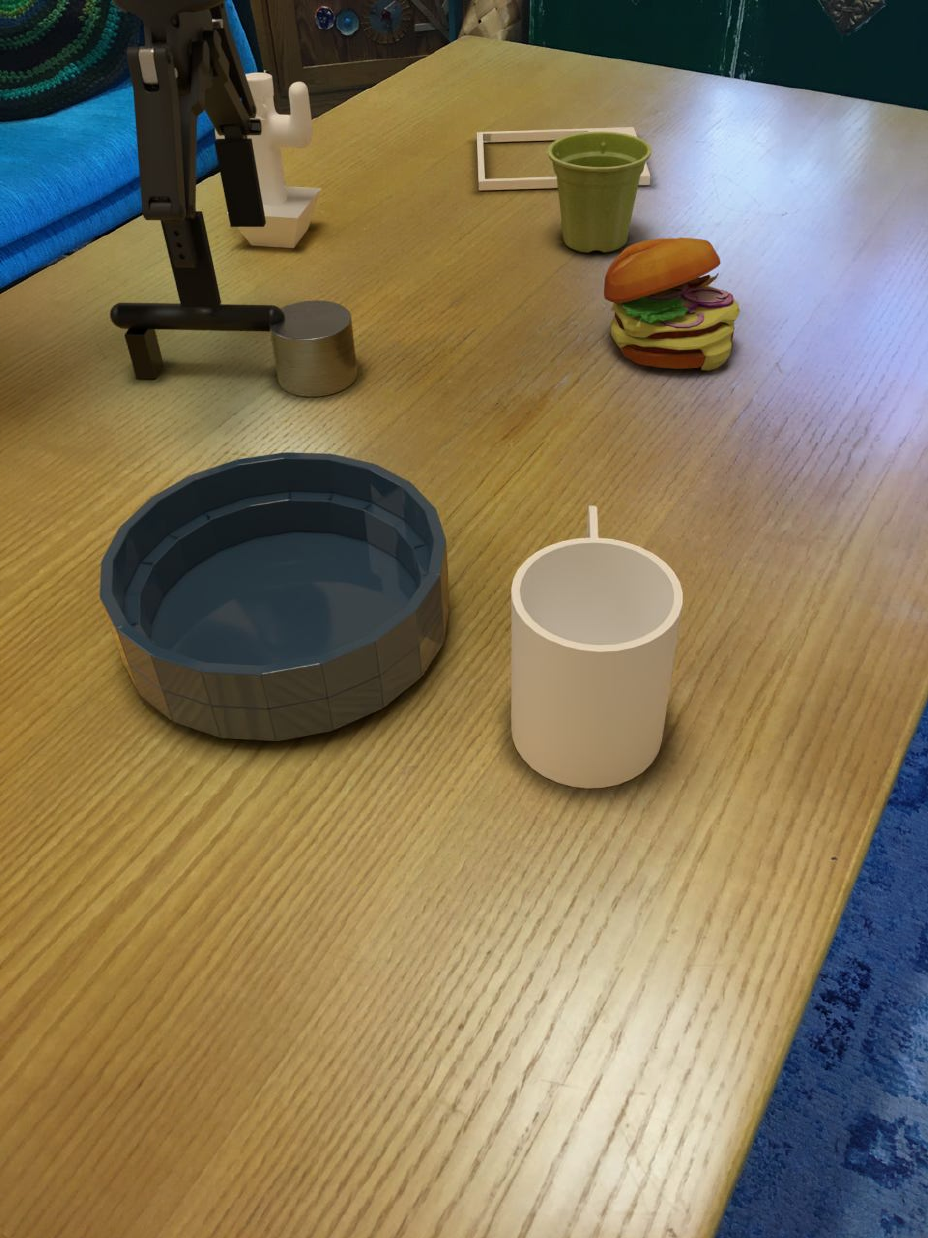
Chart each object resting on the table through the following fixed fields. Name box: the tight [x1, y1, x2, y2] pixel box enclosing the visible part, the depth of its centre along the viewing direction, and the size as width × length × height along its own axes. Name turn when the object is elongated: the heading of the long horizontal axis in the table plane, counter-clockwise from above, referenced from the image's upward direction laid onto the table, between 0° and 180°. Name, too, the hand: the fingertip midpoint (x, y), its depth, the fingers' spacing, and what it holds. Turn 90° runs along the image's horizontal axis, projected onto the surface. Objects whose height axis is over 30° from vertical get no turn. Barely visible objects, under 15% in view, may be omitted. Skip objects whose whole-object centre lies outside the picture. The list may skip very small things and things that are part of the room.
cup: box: [510, 505, 684, 789], centre depth 56 cm, size 8×12×10 cm
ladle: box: [109, 299, 358, 398], centre depth 84 cm, size 19×6×6 cm, turn 84°
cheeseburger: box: [603, 237, 741, 371], centre depth 85 cm, size 10×11×10 cm
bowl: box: [99, 451, 451, 742], centre depth 63 cm, size 19×19×6 cm
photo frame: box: [476, 126, 651, 191], centre depth 117 cm, size 15×1×18 cm
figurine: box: [214, 72, 322, 249], centre depth 100 cm, size 7×9×15 cm
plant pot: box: [547, 132, 652, 254], centre depth 100 cm, size 9×9×9 cm
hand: (226, 262), depth 80 cm, fingers open, 13 cm apart
